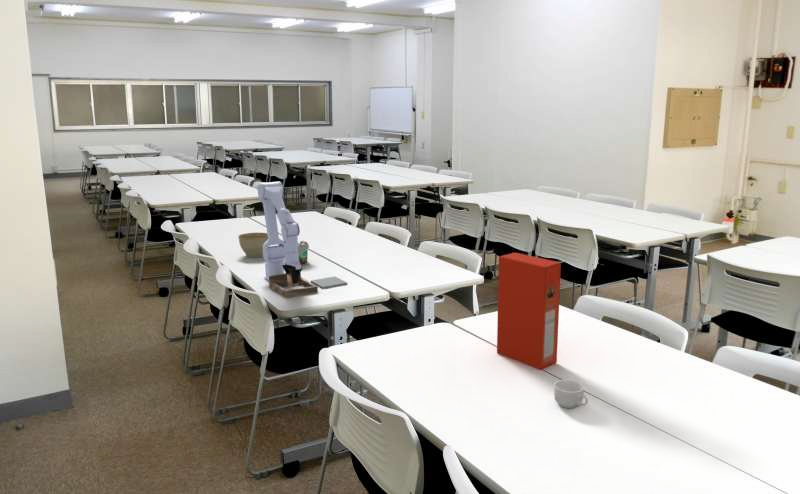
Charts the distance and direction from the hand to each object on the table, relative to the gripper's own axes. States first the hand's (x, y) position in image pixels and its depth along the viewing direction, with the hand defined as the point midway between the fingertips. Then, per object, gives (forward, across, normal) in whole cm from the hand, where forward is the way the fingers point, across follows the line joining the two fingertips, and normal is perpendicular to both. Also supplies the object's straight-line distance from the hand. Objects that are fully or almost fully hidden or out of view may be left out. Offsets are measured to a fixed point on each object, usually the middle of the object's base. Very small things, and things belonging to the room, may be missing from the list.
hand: (292, 282), depth 274 cm
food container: (+4, -39, +22) cm, 45 cm away
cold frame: (+3, 0, 0) cm, 3 cm away
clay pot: (+2, 0, 0) cm, 2 cm away
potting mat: (+3, 0, +17) cm, 17 cm away
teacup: (+3, +140, +19) cm, 141 cm away
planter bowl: (+4, -68, +8) cm, 68 cm away
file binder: (+3, +110, +31) cm, 114 cm away
